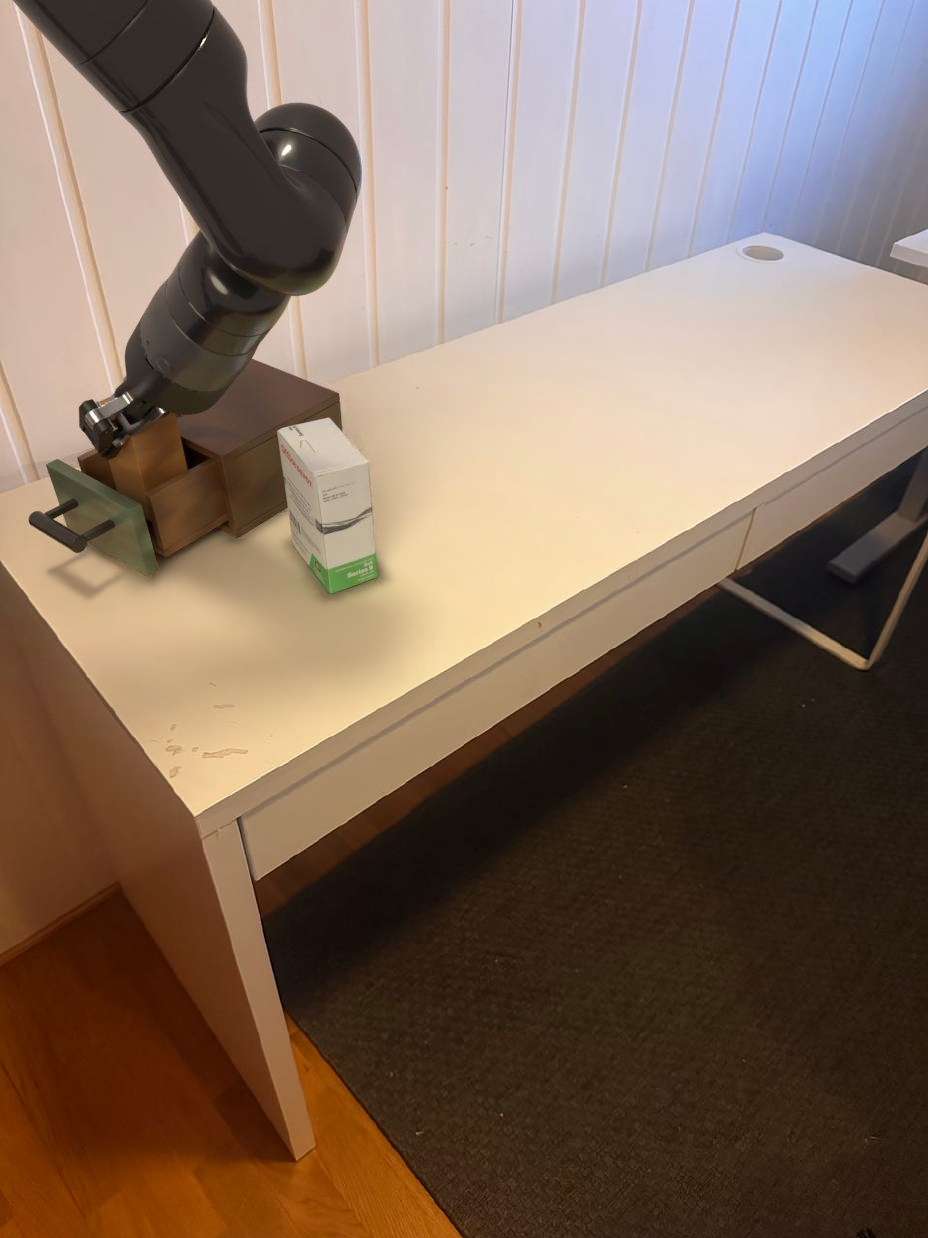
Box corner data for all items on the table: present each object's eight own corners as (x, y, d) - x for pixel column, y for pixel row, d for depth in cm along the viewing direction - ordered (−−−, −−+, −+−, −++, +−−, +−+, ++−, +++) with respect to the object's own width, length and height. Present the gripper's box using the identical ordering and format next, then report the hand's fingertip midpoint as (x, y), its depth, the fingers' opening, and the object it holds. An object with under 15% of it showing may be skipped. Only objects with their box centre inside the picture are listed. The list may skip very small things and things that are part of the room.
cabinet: (237, 538, 81) (221, 456, 76) (148, 491, 87) (127, 411, 81) (346, 471, 90) (339, 392, 85) (259, 432, 96) (247, 356, 90)
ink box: (381, 578, 77) (373, 460, 69) (327, 596, 75) (313, 476, 68) (340, 527, 83) (329, 412, 75) (290, 543, 81) (273, 427, 73)
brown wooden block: (153, 524, 78) (126, 421, 71) (121, 505, 80) (91, 404, 73) (195, 500, 81) (172, 399, 74) (162, 483, 83) (137, 383, 76)
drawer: (106, 603, 73) (84, 535, 69) (25, 551, 78) (0, 485, 74) (265, 506, 84) (255, 443, 79) (185, 466, 89) (171, 404, 84)
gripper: (239, 266, 68) (168, 370, 81) (75, 327, 59) (26, 433, 72) (297, 351, 69) (217, 440, 82) (145, 424, 60) (84, 510, 74)
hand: (128, 436), depth 77 cm, fingers closed on brown wooden block, 4 cm apart
